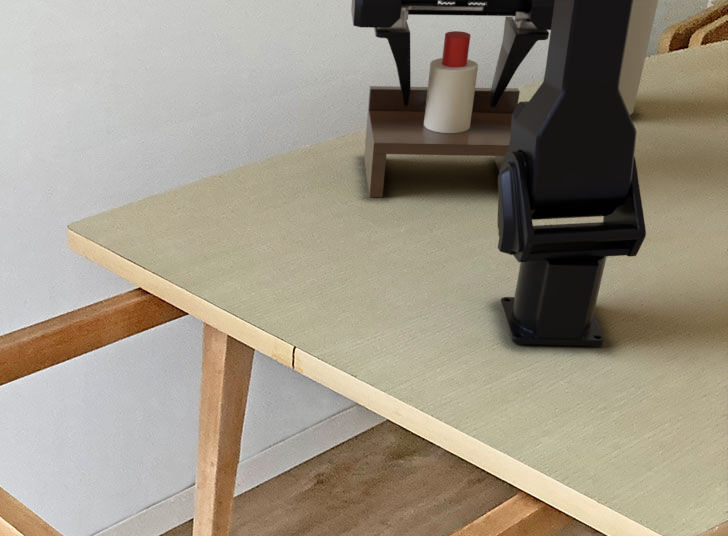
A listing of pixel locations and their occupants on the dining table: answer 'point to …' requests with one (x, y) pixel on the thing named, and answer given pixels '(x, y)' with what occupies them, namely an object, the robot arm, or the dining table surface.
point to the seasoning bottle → (451, 87)
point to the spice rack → (409, 135)
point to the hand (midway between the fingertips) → (449, 105)
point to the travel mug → (636, 49)
